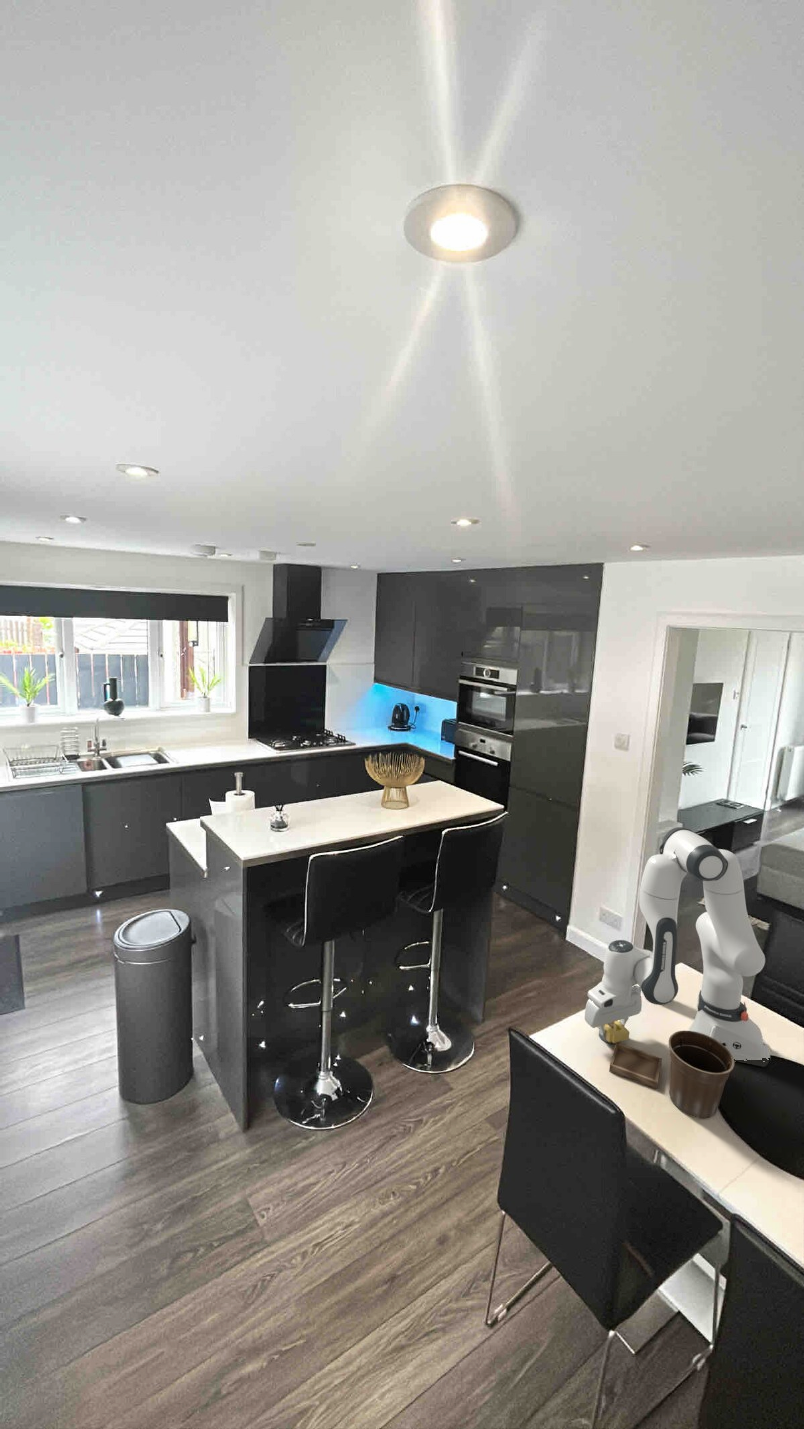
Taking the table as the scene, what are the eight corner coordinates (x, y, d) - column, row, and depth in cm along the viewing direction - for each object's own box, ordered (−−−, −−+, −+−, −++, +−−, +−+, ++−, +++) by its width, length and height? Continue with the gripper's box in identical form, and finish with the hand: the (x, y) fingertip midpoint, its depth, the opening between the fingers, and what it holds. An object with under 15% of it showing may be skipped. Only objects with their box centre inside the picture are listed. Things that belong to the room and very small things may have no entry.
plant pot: (736, 1107, 170) (745, 1055, 167) (709, 1137, 160) (717, 1082, 157) (679, 1071, 183) (686, 1022, 180) (650, 1097, 173) (657, 1046, 170)
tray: (661, 1064, 185) (661, 1058, 184) (656, 1089, 175) (657, 1082, 175) (615, 1048, 191) (616, 1042, 190) (609, 1071, 181) (609, 1064, 181)
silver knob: (623, 1034, 197) (625, 1017, 196) (619, 1047, 191) (621, 1030, 190) (601, 1026, 201) (602, 1009, 199) (596, 1039, 195) (598, 1021, 193)
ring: (608, 1020, 201) (609, 1013, 200) (628, 1039, 192) (629, 1031, 192) (591, 1024, 198) (592, 1017, 198) (611, 1044, 190) (612, 1036, 189)
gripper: (633, 978, 200) (629, 1016, 202) (583, 992, 191) (579, 1032, 194) (648, 990, 194) (644, 1029, 197) (597, 1005, 186) (593, 1045, 188)
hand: (611, 1031), depth 195 cm, fingers closed on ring, 6 cm apart
